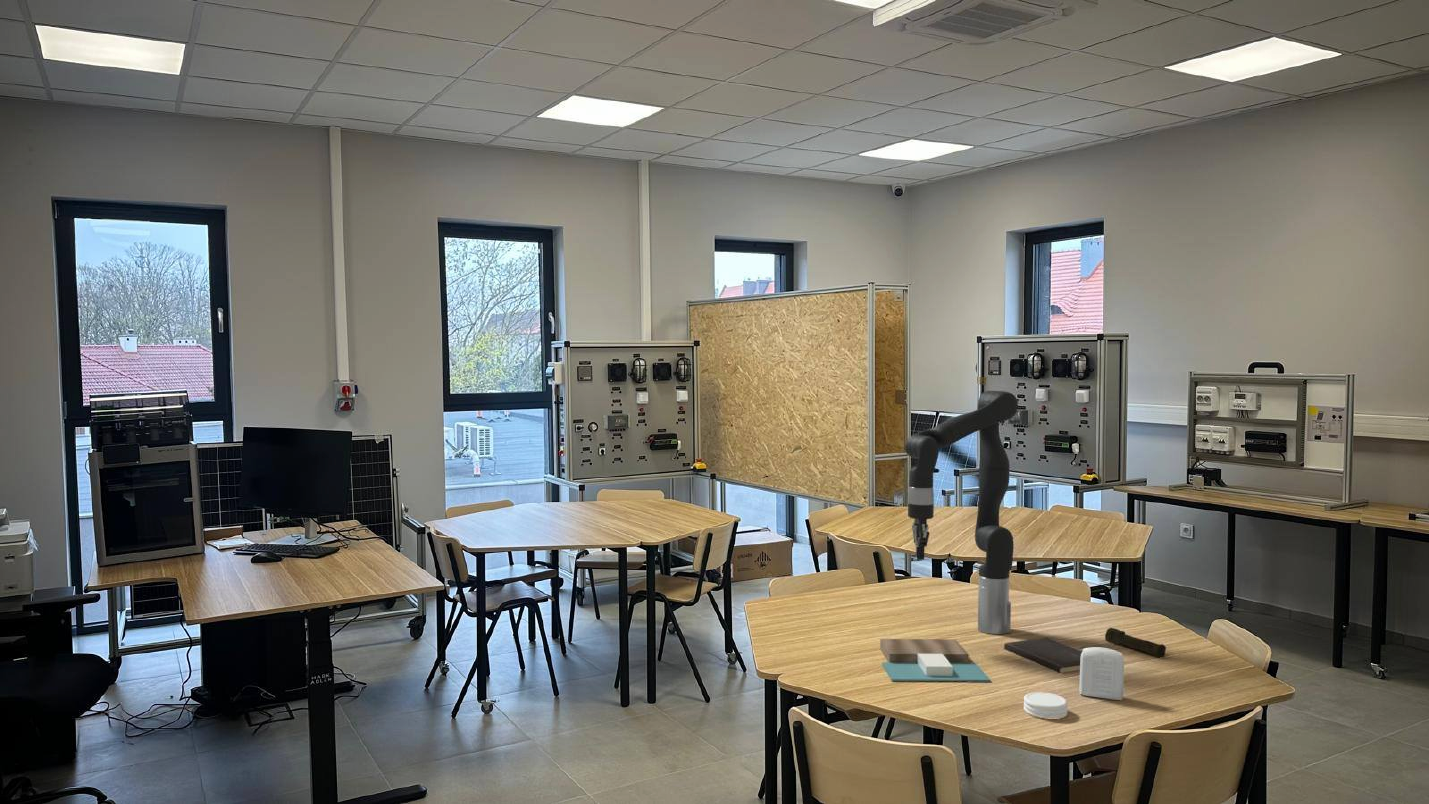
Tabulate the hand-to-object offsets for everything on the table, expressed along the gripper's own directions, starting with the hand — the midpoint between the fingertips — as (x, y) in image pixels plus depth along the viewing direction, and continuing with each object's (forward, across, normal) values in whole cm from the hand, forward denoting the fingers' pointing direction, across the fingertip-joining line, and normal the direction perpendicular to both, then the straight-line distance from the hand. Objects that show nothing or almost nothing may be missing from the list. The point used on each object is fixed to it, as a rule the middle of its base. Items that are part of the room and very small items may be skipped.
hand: (920, 559), depth 281 cm
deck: (+25, -15, +2) cm, 29 cm away
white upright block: (+25, -46, -36) cm, 64 cm away
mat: (+25, -29, +2) cm, 38 cm away
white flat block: (+24, -28, +2) cm, 37 cm away
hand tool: (+26, -6, -61) cm, 67 cm away
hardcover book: (+26, -15, -35) cm, 46 cm away
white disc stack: (+25, -57, -18) cm, 65 cm away
